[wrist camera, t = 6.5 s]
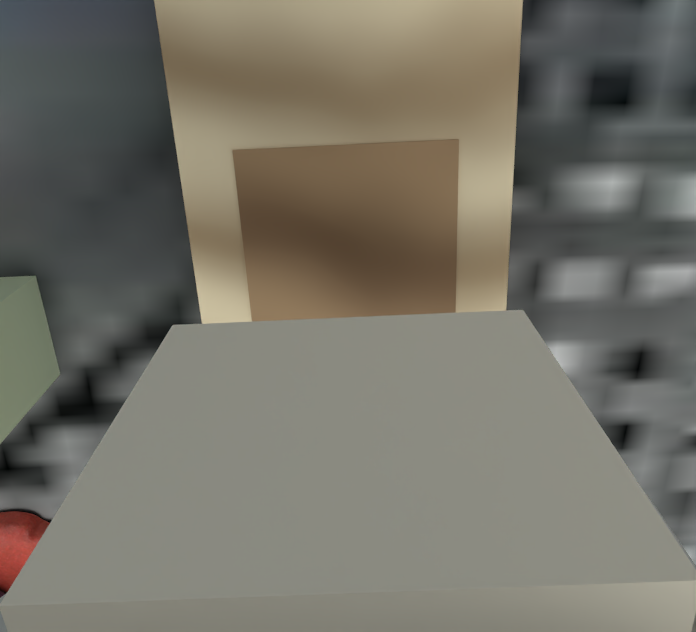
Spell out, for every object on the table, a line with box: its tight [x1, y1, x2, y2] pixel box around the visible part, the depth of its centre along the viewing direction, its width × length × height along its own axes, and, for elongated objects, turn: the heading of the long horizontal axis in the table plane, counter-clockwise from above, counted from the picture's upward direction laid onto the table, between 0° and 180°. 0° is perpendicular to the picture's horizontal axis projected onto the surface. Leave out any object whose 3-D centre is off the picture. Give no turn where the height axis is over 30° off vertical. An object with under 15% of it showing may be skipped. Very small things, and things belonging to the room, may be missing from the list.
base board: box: [154, 0, 523, 324], centre depth 25 cm, size 20×12×1 cm, turn 3°
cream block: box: [0, 310, 696, 632], centre depth 9 cm, size 6×6×6 cm
